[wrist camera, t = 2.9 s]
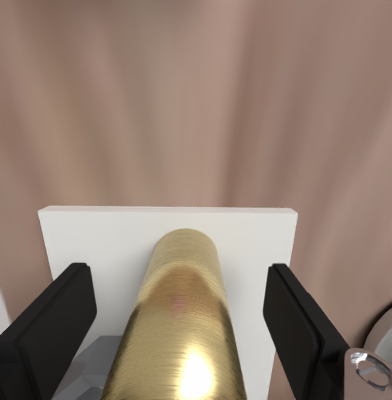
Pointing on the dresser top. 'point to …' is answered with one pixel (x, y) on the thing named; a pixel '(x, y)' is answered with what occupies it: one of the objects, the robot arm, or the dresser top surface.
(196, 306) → the brass pipe fitting
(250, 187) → the dresser top surface
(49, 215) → the fitting board
